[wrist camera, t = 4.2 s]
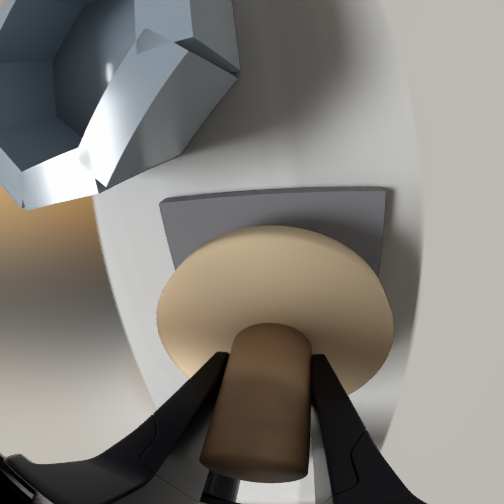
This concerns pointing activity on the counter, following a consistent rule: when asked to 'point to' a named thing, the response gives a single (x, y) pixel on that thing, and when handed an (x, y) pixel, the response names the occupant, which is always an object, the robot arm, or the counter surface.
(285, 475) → the lid
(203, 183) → the counter surface
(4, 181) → the bowl
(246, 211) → the mat
